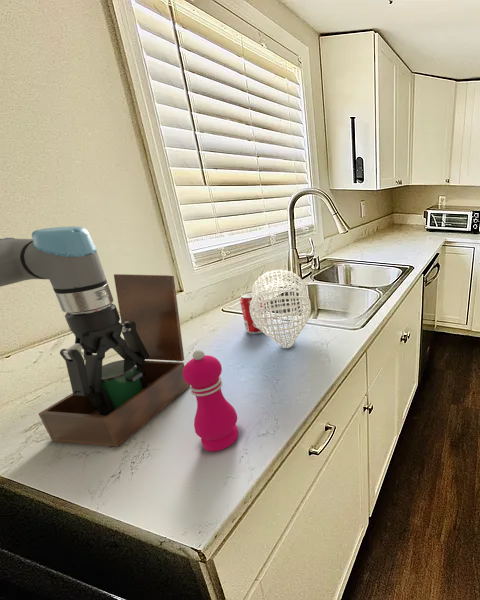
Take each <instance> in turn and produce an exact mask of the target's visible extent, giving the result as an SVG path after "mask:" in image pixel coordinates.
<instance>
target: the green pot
mask: <svg viewBox="0 0 480 600" xmlns="http://www.w3.org/2000/svg"><path fill="white" fill-rule="evenodd" d="M136 366H137V364H136V362H135V361H133V360H124V359H120V360H115V361H111V362H109V363H106V364H102V380H101V389H104V390H106V391H107V393H108V396H109V398H110V401H111V403H112V406H113V408H114V410H116V409H117V408H118V407H120V406H121V405H122V404H124V403H125V402H127V401H128V400H129V399H131V398H132V397H133V396H135V395H136V394H138V393H139V392H140V391H142V390H143V389H144V388H143V385H142V382H141V379H140V377H142V376H143V375H142V372H138V371H137V368H136Z"/></svg>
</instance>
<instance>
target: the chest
mask: <svg viewBox="0 0 480 600" xmlns="http://www.w3.org/2000/svg"><path fill="white" fill-rule="evenodd" d="M144 361H146V362H147V363H146V365H145V366H143V368H144V371H145V374H146V376H145V377H144V378H145V381H146V384H147V387H146V388H145V389H143V390H142V391H140V392H139V393H138V394H136V395H135V396H133V397H132V398H131V399H129V400H128V401H127V402H125V403H124V404H122V405H121V406H120V407H118V408H117V409H116V410H114V411H113V412H111V413H110V414H109V415H107V416H103V415H100V413H99V410H98V408H97V407H93V406H92V404H91V402H90V399H89V397H81V396H74V395H73V392H72V393H70V394H68V395H67V396H66V397H64V398H62V399H60V400H58V401H57V402H55V403H53V404H52V405H50V406H49V407H47V408H45V409H43V410H41V411H39V412H38V417H39V418H40V420H41V422H42V424H43V426H44V428H45V430H46V432H47V434H48V436H49V438H50V440H51V441H52V442H58V443H69V444H70V443H71V444H78V445H79V444H81V445H92V446H102V447H115V448H119V447H120V446H121V445H123V443H125V442H126V441H127V440H128V439H130V438H131V437H132V436H133V435H134V434H135V433H137V432H138V431H140V429H141V428H142V427H144V426H146V424H147V423H149V422H150V421H151V420H152V419H153V418H155V416H157V415H159V413H160V412H161V411H162V410H164V409H165V408H167V407H168V406H169V405H170V404H171V403H172V402H173V401H174V400H176V399H177V398H179V396H180V395H182V394H183V393H184V392H185V391H186V390H187V389H189V388H190V385H189V384H188V383H186V382H185V380H184V378H183V369H184V366H185V363H184V362H183V361H166V360H148V359H145V360H144Z"/></svg>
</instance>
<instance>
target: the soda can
mask: <svg viewBox="0 0 480 600" xmlns="http://www.w3.org/2000/svg"><path fill="white" fill-rule="evenodd" d="M258 296H259V295H258ZM252 298H253V297H252V291H246V292H244V293H241V295H240V300H239V303H240V307H241V313H242V317H243V321H244V327H245V331H246V332H247V333H248V334H250V335H260V334H262V333H263V332H262V331H261V330H260V329H259V328H257V326H256V325H255V324H254V322H253V320H252V318H251V315H250V302H251V300H252ZM263 299H264V300H265V298H264V296H263ZM259 300H260V301H261V298H259ZM260 304H262V303H260ZM264 305H266V303H265V302H264ZM257 307H258V306H257ZM260 307H261V308H262V306H261V305H260ZM257 309H258V308H257ZM265 309H266V307H265ZM260 310H261V309H260ZM253 311H254V310H253ZM260 312H261V311H260ZM265 312H266V314H267V311H265ZM261 313H262V312H261ZM262 314H263V313H262ZM254 316H255V315H254ZM261 316H262V315H261ZM264 316H265V315H264ZM262 317H263V316H262ZM266 317H267V315H266ZM256 321H257V320H256ZM260 322H261V321H260ZM264 322H265V321H264ZM265 323H266V322H265ZM263 324H264V323H263ZM266 328H267V327H266ZM267 329H268V328H267ZM263 334H264V333H263Z"/></svg>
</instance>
